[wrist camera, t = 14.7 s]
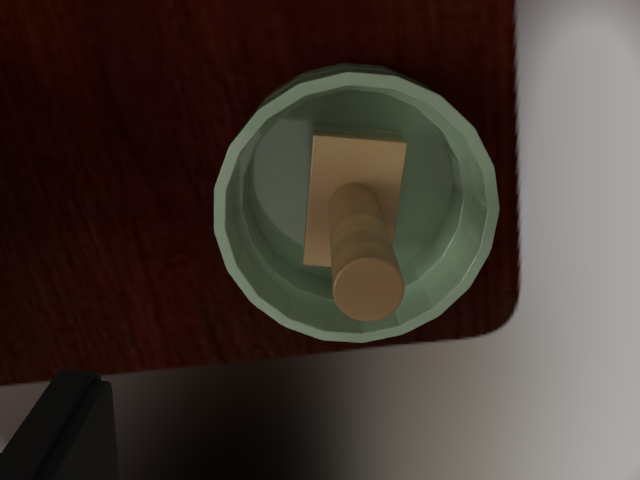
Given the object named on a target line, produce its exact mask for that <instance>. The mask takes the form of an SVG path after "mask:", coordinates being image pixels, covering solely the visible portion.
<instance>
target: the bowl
mask: <svg viewBox="0 0 640 480" xmlns="http://www.w3.org/2000/svg"><path fill="white" fill-rule="evenodd" d="M314 124H325V125H337V126H349V127H361V128H373V129H385V130H397V131H399V132H400V133H401V134H402V136H403V137H404V139H405V141H406V142H407V144H408V146H407V153H406V160H405V167H404V174H403V181H402V187H401V194H400V201H399V208H398V215H397V222H396V229H395V236H394V243H393V249H394V252H395V255H396V258H397V261H398V265H399V268H400V271H401V274H402V277H403V280H404V286H405V290H404V296H403V299H402V301H401V303H400V305H399V306H398V307H397V309H396V310H395V311H394V312H393V313H391V314H390V315H388V316H387V317H385V318H383V319H380V320H376V321H369V322H368V321H359V320H355V319H353V318H350V317H349V316H347V315H346V314H344V313H343V312H342V311H341V310H340V309H339V308H338V306H337V305H336V303H335V301H334V297H333V291H332V272H331V267H323V266H310V265H303V253H304V238H305V225H306V212H307V200H308V187H309V174H310V161H311V149H312V136H313V125H314ZM499 209H500V208H499V200H498V191H497V183H496V175H495V168H494V165H493V163H492V161H491V159H490V157H489V155H488V153H487V151H486V149H485V147H484V145H483V143H482V141H481V139H480V137H479V135H478V133H477V131H476V129H475V128H474V127H473V125H472V124H471V123H470V122H468V121H467V120H466V119H465V118H464V117H463V116H462V115H461V114H460V113H459V112H458V111H457V110H456V109H455V108H454V107H453V106H452V105H451V104H449V103H448V102H447V101H446V100H445V99H444V98H443V97H442V96H441V95H439V94H438V93H436V92H434V91H433V90H431V89H430V88H428V87H427V86H425V85H424V84H422V83H421V82H419V81H417V80H414V79H412V78H410V77H407V76H405V75H403V74H401V73H398V72H396V71H394V70H392V69H389V68H387V67H383V66H377V65H365V64H353V63H339V64H335V65H331V66H327V67H323V68H319V69H315V70H311V71H307V72H303V74H299V75H298V76H296V77H295V78H293V79H292V80H290V81H288V82H287V83H285V84H284V85H282V86H281V87H279V88H278V89H276V90H274V91H273V92H271V93H270V94H269V95H268V96H266V98H265V99H264V100H263V101H262V103H261V104H260V105H259V106H258V108H257V109H256V110H255V111H254V113H253V114H252V115H251V116H250V118H249V119H248V120H247V121H246V122H245V124H244V125H243V127H242V128H241V130H240V131H239V132H238V134H237V135H236V137H235V138H234V140H233V141H232V143H231V144H230V146H229V148H228V151H227V153H226V156H225V159H224V162H223V165H222V167H221V170H220V173H219V176H218V178H217V181H216V184H215V188H214V233H215V236H216V239H217V242H218V245H219V248H220V251H221V254H222V257H223V260H224V263H225V266H226V269H227V271H228V272H229V274H230V275H231V276H232V278H233V279H234V280H235V282H236V283H237V284H238V286H239V287H240V288H241V290H242V291H243V292H244V294H245V295H246V296H247V298H248V299H249V301H250V302H252V304H254V305H255V306H256V307H258V308H259V309H260V310H262V311H263V312H265V313H266V314H267V315H269V316H270V317H271V318H273V319H274V320H276V321H277V322H278V323H280V324H281V325H282V326H284V327H287V328H289V329H292V330H295V331H298V332H301V333H303V334H306V335H309V336H312V337H315V338H317V339H320V340H328V341H343V342H357V343H362V342H363V343H364V342H369V341H374V340H379V339H384V338H389V337H394V336H398V335H402V334H405V333H407V332H409V331H411V330H413V329H415V328H417V327H419V326H421V325H423V324H425V323H427V322H429V321H431V320H432V319H434V318H436V317H438V316H439V315H441V314H442V313H443V312H444V311H445V310H446V309H447V308H448V307H450V306H451V305H452V304H453V303H454V302H455V301H456V300H457V299H458V298H459V297H460V296H461V295H462V294H463V293H465V292H466V291H467V290H468V289H469V287H470V286H471V285H472V283H473V281H474V280H475V278H476V276H477V274H478V273H479V271H480V269H481V267H482V266H483V264H484V262H485V261H486V259H487V257H488V255H489V254H490V251H491V248H492V243H493V239H494V234H495V229H496V225H497V220H498V215H499Z"/></svg>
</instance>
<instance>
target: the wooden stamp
mask: <svg viewBox="0 0 640 480" xmlns="http://www.w3.org/2000/svg"><path fill="white" fill-rule="evenodd" d="M407 146H408V144H407V142H406V141H405V139H404V137H403V136H402V134H401V133H400V132H399V131H397V130H385V129H373V128H361V127H349V126H337V125H325V124H314V125H313V136H312V149H311V161H310V174H309V187H308V200H307V212H306V225H305V238H304V253H303V265H310V266H323V267H331V272H332V291H333V297H334V301H335V303H336V305H337V306H338V308H339V309H340V310H341V311H342V312H343V313H344V314H346V315H347V316H349V317H350V318H353V319H355V320H359V321H368V322H369V321H376V320H380V319H383V318H385V317H387V316H388V315H390V314H391V313H393V312H394V311H395V310H396V309H397V307H398V306H399V305H400V303H401V301H402V299H403V296H404V290H405V286H404V280H403V277H402V274H401V271H400V268H399V265H398V261H397V258H396V255H395V252H394V249H393V243H394V236H395V229H396V222H397V215H398V208H399V201H400V194H401V187H402V181H403V174H404V167H405V160H406V153H407Z"/></svg>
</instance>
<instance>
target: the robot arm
mask: <svg viewBox="0 0 640 480" xmlns="http://www.w3.org/2000/svg"><path fill="white" fill-rule="evenodd" d="M0 480H119V469H118V456H117V444H116V432H115V421H114V409H113V397H112V387H111V384H110V382H108V381H101V376H100V374H99V373H98V372H95V371H78V370H60V371H59V372H58V373H57V374H56V375H55V377H54V378H53V379H52V381H51V382H50V384H49V385H48V387H47V388H46V390H45V391H44V393H43V394H42V395H41V397H40V399H39V400H38V401H37V402H36V404H35V405H34V407H33V408H32V410H31V411H30V413H29V414H28V415H27V417H26V418H25V420H24V421H23V423H22V424H21V426H20V427H19V429H18V430H17V431H16V433H15V434H14V436H13V437H12V439H11V440H10V441H9V443H8V444H7V446H6V447H5V449H4V450H3V452H2V453H0Z"/></svg>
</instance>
